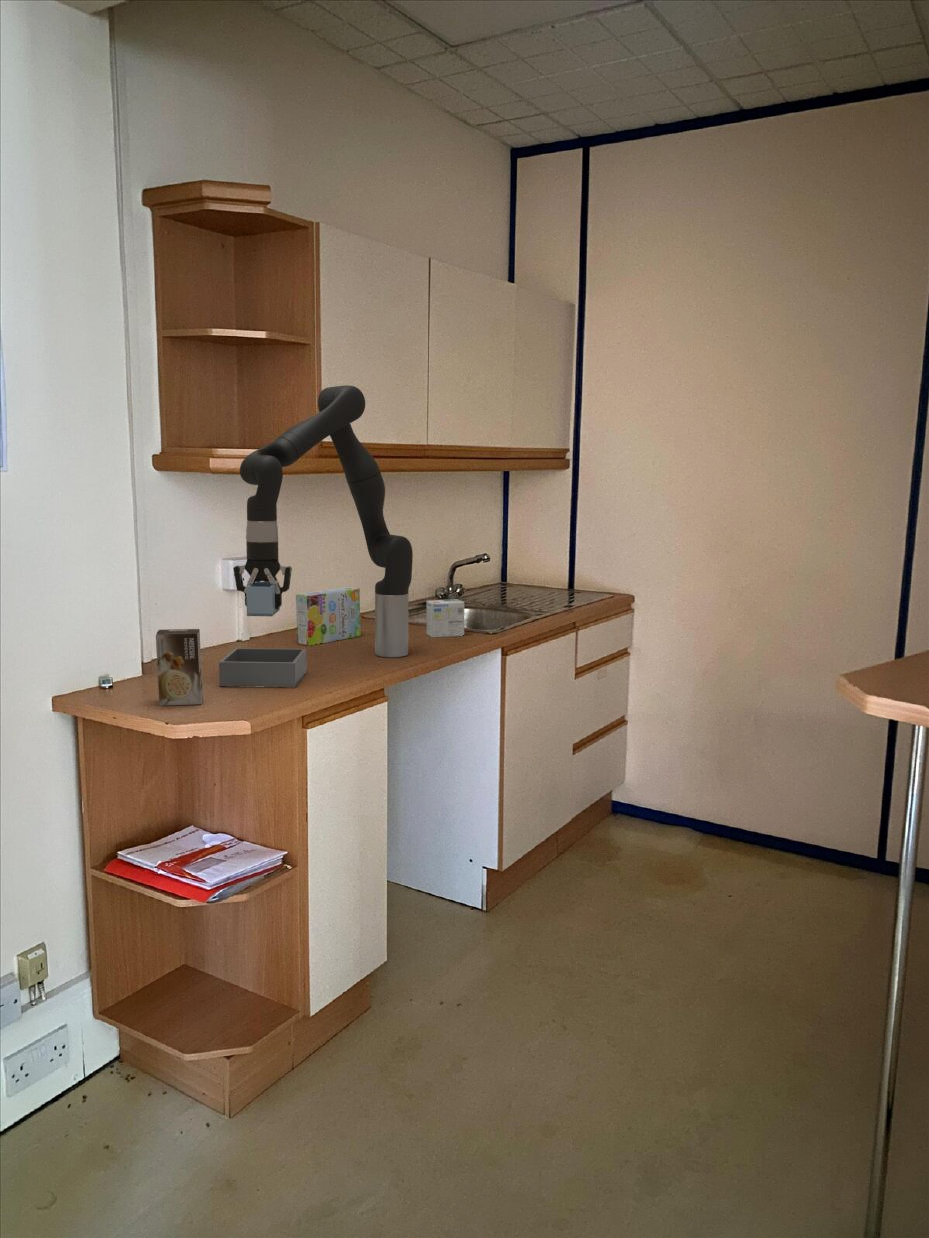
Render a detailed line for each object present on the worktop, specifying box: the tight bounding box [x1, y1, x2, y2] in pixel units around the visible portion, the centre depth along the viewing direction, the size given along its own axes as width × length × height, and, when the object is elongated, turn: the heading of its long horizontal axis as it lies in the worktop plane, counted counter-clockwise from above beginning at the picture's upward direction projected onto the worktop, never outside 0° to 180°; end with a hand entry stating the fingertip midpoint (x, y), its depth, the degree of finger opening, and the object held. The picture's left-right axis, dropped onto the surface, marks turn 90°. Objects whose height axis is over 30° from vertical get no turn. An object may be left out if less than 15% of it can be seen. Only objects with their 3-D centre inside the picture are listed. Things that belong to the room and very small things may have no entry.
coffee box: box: [155, 628, 204, 707], centre depth 216 cm, size 9×6×16 cm
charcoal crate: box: [218, 647, 308, 689], centre depth 239 cm, size 17×18×6 cm
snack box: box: [295, 586, 362, 647], centre depth 290 cm, size 21×6×15 cm, turn 141°
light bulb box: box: [425, 598, 465, 639], centre depth 301 cm, size 11×7×11 cm, turn 111°
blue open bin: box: [246, 581, 281, 617], centre depth 236 cm, size 10×6×7 cm, turn 0°
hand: (263, 608), depth 237 cm, fingers closed on blue open bin, 6 cm apart
